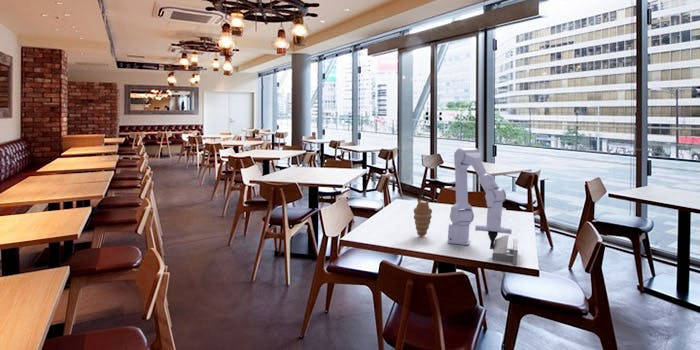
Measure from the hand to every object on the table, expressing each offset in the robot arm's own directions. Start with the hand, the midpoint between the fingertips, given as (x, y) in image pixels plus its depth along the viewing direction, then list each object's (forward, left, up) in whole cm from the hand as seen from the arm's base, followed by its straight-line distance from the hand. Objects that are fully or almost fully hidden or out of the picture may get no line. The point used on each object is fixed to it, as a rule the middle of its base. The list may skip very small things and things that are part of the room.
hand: (492, 248), depth 196 cm
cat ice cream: (-34, +20, -3) cm, 39 cm away
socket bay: (+4, 0, -3) cm, 5 cm away
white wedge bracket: (+4, -1, -3) cm, 5 cm away
